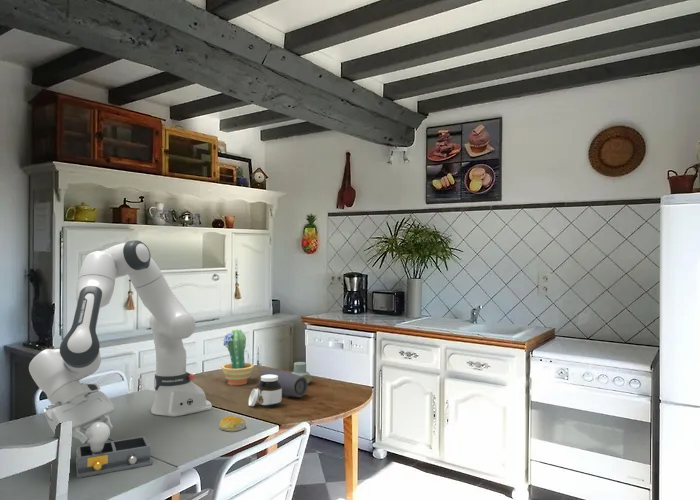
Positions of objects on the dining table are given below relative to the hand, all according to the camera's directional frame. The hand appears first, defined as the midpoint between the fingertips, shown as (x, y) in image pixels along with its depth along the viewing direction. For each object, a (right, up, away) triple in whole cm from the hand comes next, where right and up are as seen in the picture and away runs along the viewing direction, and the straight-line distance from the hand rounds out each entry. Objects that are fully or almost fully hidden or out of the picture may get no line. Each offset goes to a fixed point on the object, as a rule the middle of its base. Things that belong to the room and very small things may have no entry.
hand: (98, 435), depth 144 cm
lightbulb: (-1, -8, 0) cm, 8 cm away
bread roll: (+30, -10, +33) cm, 46 cm away
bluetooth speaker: (+42, -10, +77) cm, 88 cm away
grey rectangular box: (+4, -9, +1) cm, 9 cm away
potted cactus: (+18, -10, +96) cm, 98 cm away
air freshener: (+48, -11, +95) cm, 107 cm away
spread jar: (+37, -10, +60) cm, 71 cm away
